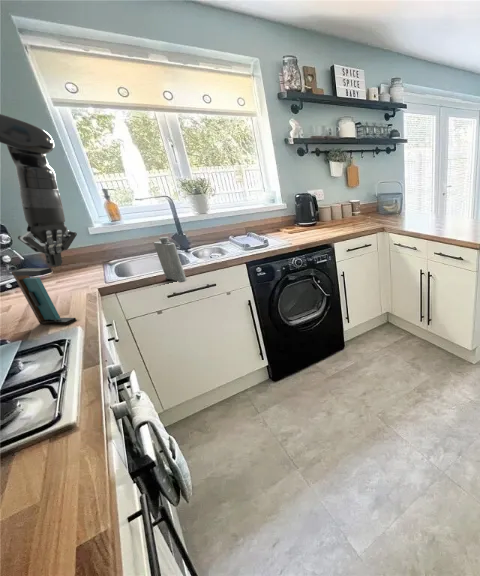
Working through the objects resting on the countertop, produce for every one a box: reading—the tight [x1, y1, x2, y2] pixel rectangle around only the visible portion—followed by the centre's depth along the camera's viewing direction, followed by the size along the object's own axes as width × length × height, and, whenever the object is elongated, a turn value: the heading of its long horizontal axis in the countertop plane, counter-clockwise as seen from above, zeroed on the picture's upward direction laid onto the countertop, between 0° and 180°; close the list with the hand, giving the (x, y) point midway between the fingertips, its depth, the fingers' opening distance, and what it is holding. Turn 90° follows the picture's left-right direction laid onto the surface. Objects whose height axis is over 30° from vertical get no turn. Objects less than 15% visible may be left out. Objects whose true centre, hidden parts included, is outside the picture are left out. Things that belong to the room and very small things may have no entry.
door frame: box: [10, 267, 77, 326], centre depth 104 cm, size 3×12×20 cm, turn 80°
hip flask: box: [153, 236, 188, 283], centre depth 142 cm, size 16×4×20 cm, turn 57°
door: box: [23, 277, 61, 320], centre depth 105 cm, size 3×6×15 cm, turn 80°
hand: (55, 265), depth 90 cm, fingers closed
